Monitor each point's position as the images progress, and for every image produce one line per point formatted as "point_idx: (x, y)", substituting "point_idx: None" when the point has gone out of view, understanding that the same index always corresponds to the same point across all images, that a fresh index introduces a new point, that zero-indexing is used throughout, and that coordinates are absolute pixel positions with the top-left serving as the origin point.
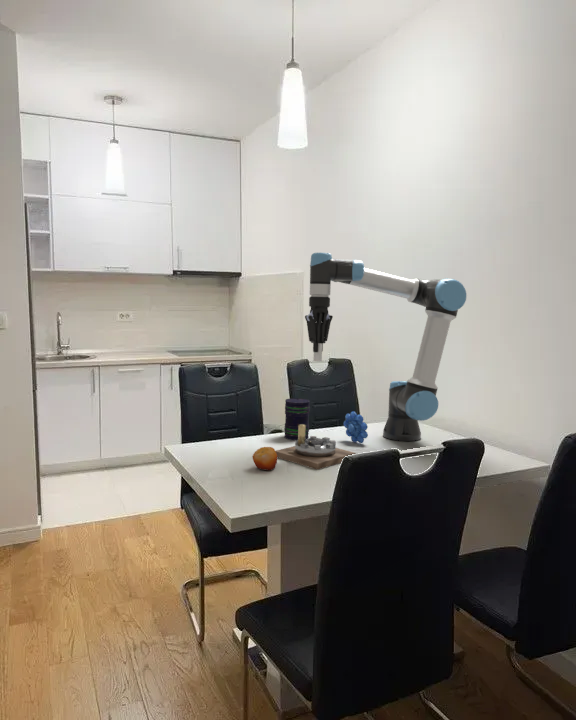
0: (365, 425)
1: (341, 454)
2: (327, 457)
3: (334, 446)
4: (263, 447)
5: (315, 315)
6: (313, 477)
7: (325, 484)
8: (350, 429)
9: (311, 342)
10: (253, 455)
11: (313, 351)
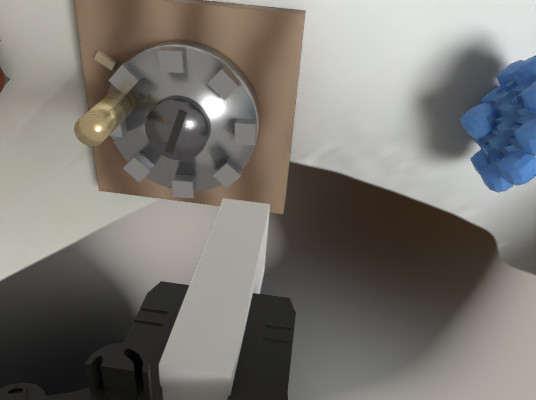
0: (491, 189)
1: (232, 192)
2: None
3: (211, 187)
4: None
5: None
6: (52, 206)
7: (44, 250)
8: (462, 124)
9: (105, 353)
10: None
11: (157, 288)
